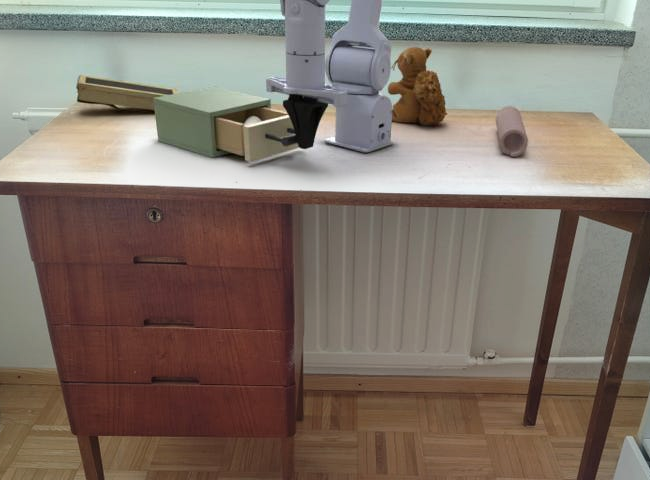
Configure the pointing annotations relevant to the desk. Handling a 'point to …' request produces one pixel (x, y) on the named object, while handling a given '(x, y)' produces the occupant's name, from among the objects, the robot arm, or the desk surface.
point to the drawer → (255, 133)
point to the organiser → (199, 116)
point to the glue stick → (252, 120)
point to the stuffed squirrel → (417, 90)
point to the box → (119, 92)
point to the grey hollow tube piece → (511, 131)
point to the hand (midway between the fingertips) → (305, 147)
